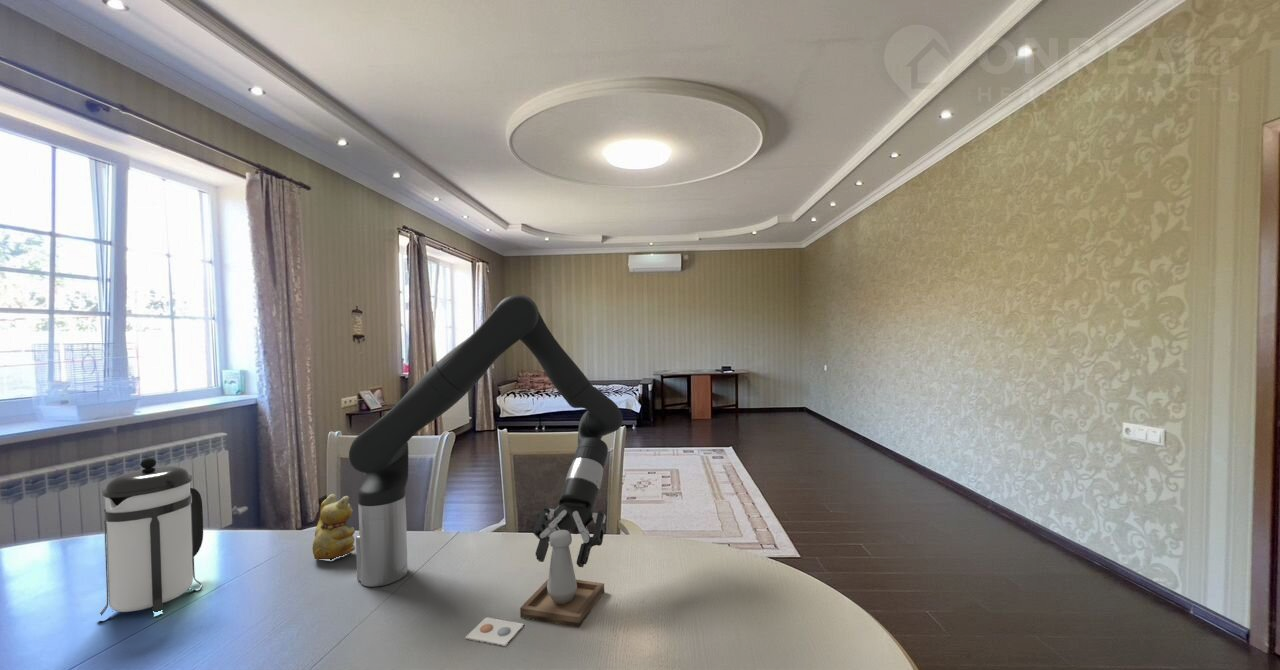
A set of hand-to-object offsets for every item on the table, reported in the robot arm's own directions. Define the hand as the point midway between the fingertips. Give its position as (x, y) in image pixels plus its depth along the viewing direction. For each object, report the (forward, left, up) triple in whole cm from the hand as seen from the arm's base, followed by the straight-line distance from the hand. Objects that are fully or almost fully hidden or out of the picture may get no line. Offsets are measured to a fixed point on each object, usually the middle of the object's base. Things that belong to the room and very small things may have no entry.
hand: (559, 563), depth 91 cm
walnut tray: (0, +1, -9) cm, 9 cm away
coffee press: (-83, -19, -9) cm, 86 cm away
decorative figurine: (-64, +5, -9) cm, 65 cm away
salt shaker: (0, +2, -8) cm, 8 cm away
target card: (-8, -10, -9) cm, 15 cm away
